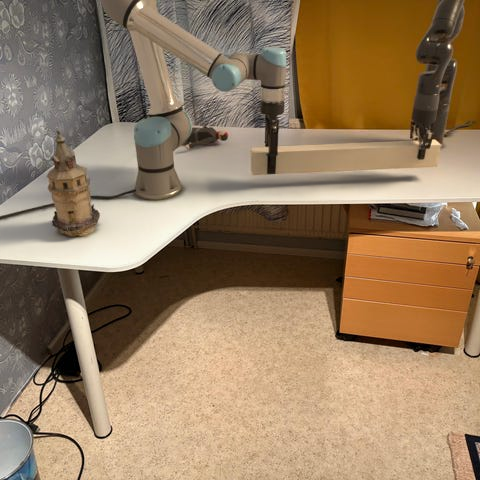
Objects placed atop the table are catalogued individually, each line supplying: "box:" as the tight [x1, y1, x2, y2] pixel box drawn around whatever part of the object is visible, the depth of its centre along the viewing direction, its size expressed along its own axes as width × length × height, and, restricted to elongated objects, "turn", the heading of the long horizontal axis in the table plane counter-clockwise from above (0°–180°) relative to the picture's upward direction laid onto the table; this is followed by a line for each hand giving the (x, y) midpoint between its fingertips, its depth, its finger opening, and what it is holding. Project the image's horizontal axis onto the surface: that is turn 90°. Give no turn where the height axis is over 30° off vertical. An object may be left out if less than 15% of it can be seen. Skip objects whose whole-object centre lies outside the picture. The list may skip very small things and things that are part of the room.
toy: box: [184, 124, 229, 150], centre depth 219 cm, size 26×6×30 cm
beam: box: [250, 140, 442, 176], centre depth 178 cm, size 62×5×8 cm, turn 95°
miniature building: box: [46, 129, 101, 237], centre depth 148 cm, size 13×14×30 cm
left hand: (270, 169), depth 178 cm, fingers closed on beam, 5 cm apart
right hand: (417, 155), depth 180 cm, fingers closed on beam, 5 cm apart
